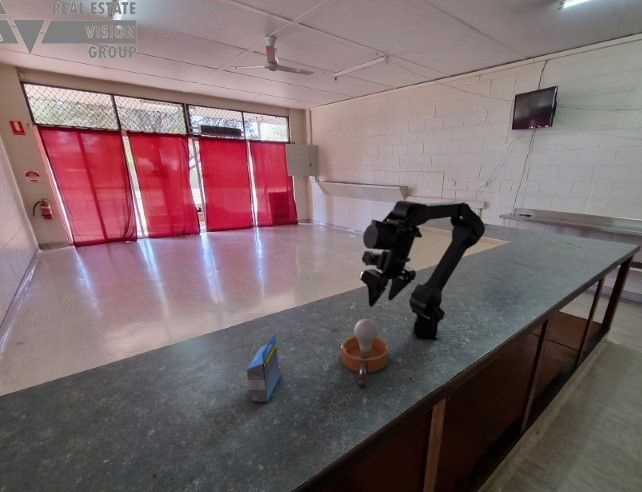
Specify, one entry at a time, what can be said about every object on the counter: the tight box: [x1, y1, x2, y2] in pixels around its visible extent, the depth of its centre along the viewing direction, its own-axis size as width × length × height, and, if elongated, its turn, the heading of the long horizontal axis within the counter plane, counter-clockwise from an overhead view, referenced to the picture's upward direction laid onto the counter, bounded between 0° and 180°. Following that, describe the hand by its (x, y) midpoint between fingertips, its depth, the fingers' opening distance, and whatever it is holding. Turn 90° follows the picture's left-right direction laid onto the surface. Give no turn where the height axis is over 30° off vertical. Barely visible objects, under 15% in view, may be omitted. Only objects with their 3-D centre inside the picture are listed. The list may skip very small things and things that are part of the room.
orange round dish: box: [341, 335, 390, 374], centre depth 83 cm, size 12×12×4 cm
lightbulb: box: [353, 318, 379, 358], centre depth 81 cm, size 6×6×11 cm
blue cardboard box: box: [246, 332, 280, 403], centre depth 70 cm, size 9×4×12 cm, turn 178°
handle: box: [357, 361, 368, 389], centre depth 73 cm, size 2×9×2 cm, turn 178°
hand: (380, 302), depth 87 cm, fingers open, 9 cm apart
